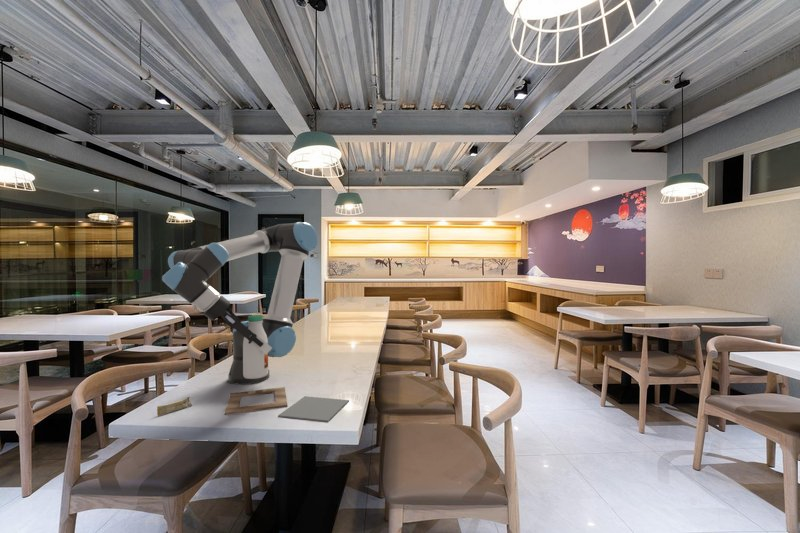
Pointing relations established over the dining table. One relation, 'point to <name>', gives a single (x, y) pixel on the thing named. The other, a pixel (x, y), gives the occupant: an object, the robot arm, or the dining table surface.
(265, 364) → the milk bottle
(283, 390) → the wooden frame
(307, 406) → the rubber mat
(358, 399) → the dining table surface
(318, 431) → the dining table surface
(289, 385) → the dining table surface
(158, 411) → the snack bar
